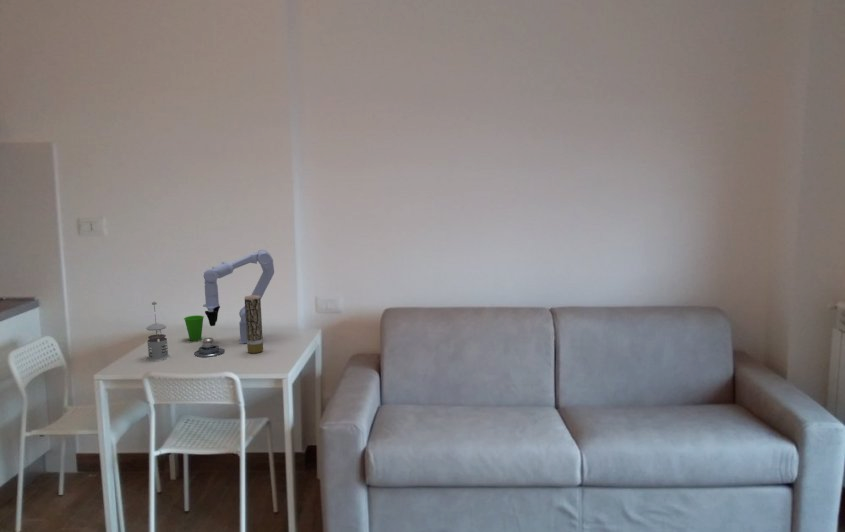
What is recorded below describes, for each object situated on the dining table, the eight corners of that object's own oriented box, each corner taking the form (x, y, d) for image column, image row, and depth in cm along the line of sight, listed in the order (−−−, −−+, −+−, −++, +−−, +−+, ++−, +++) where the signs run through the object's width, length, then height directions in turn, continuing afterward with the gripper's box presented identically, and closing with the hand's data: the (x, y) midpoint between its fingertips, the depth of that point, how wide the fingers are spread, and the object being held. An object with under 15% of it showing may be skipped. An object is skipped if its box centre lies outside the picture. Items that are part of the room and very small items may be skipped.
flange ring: (225, 348, 291) (225, 342, 291) (223, 356, 279) (223, 350, 278) (196, 350, 289) (195, 344, 288) (192, 358, 276) (191, 352, 276)
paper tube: (259, 354, 281) (256, 298, 277) (244, 353, 282) (241, 298, 279) (265, 349, 288) (262, 295, 284) (251, 349, 289) (248, 295, 285)
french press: (144, 362, 272) (140, 304, 268) (148, 354, 283) (144, 299, 279) (169, 360, 274) (165, 303, 270) (172, 352, 285) (168, 297, 281)
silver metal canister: (204, 350, 286) (203, 337, 285) (215, 350, 286) (214, 337, 285) (202, 353, 281) (201, 340, 280) (213, 353, 282) (212, 340, 281)
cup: (208, 337, 310) (207, 315, 308) (200, 342, 301) (198, 319, 299) (190, 337, 311) (189, 315, 309) (182, 342, 302) (180, 319, 300)
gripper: (204, 292, 300) (206, 320, 302) (200, 298, 286) (202, 328, 288) (220, 291, 301) (221, 319, 304) (217, 297, 287) (218, 327, 290)
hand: (213, 323), depth 296 cm, fingers open, 7 cm apart
